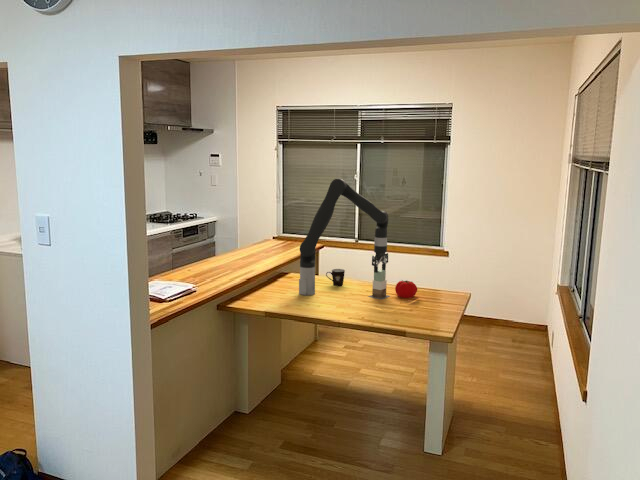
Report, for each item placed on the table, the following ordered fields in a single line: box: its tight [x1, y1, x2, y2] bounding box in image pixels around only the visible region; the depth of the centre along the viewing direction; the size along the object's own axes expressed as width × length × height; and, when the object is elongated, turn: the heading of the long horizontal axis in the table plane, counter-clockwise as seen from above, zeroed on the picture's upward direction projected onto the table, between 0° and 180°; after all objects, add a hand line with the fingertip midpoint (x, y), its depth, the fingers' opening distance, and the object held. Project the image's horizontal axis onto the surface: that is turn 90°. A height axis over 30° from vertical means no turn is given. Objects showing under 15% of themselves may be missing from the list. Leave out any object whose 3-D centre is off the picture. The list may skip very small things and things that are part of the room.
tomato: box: [394, 279, 418, 299], centre depth 321 cm, size 13×12×11 cm
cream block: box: [372, 279, 388, 290], centre depth 320 cm, size 6×6×5 cm
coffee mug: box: [325, 268, 346, 287], centre depth 351 cm, size 12×9×10 cm
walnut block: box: [371, 288, 387, 298], centre depth 321 cm, size 6×6×5 cm
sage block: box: [373, 268, 387, 282], centre depth 319 cm, size 5×5×6 cm
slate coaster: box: [367, 294, 391, 300], centre depth 321 cm, size 10×10×1 cm
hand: (379, 271), depth 319 cm, fingers open, 8 cm apart
